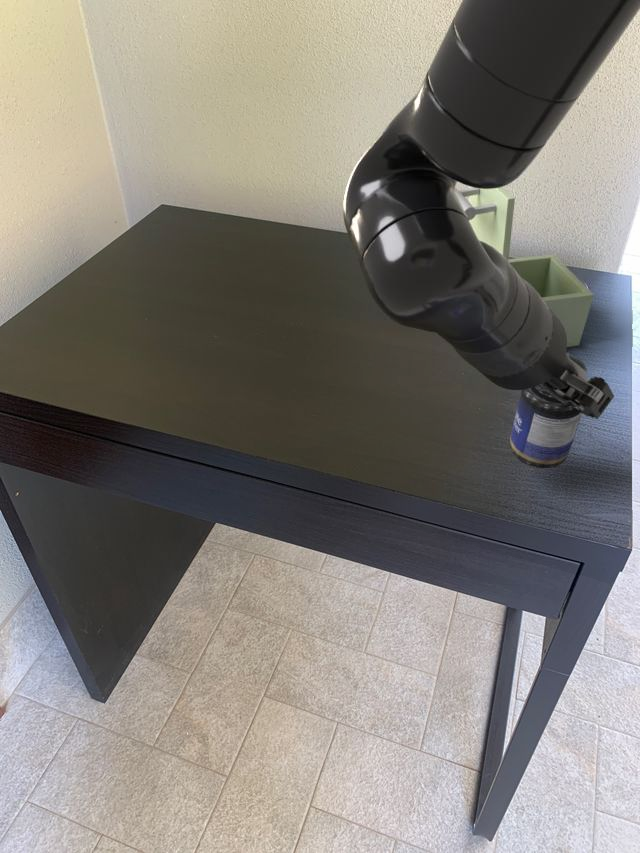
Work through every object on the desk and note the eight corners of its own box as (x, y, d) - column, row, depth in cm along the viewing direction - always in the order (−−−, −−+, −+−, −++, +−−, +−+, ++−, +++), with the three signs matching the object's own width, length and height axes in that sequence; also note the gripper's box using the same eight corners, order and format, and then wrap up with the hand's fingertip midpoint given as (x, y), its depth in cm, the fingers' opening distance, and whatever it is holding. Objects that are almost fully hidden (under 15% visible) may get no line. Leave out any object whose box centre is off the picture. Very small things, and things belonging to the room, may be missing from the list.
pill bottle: (511, 426, 75) (531, 342, 68) (569, 437, 73) (595, 353, 66) (505, 463, 71) (525, 378, 63) (566, 476, 69) (594, 390, 62)
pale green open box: (541, 302, 101) (553, 254, 96) (579, 345, 93) (594, 294, 87) (460, 313, 99) (467, 263, 94) (490, 357, 91) (500, 306, 85)
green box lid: (477, 161, 84) (438, 168, 84) (515, 197, 76) (472, 205, 76) (470, 260, 94) (436, 266, 93) (504, 302, 85) (466, 309, 85)
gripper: (611, 329, 50) (652, 393, 63) (465, 257, 59) (528, 327, 72) (550, 414, 51) (603, 459, 64) (415, 331, 60) (486, 386, 73)
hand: (563, 389), depth 68 cm, fingers closed on pill bottle, 6 cm apart
